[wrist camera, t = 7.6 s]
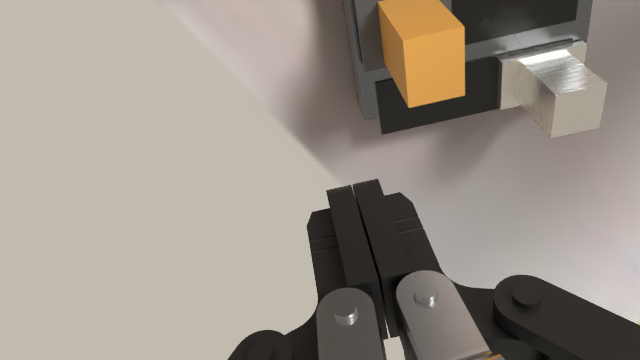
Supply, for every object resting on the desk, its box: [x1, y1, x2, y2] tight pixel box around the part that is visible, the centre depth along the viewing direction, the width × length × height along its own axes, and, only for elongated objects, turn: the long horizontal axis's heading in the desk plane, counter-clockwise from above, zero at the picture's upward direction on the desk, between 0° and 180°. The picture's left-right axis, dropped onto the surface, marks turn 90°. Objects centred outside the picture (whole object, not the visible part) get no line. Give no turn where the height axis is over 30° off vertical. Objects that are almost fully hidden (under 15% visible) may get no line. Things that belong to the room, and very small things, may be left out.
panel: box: [343, 0, 608, 138], centre depth 24 cm, size 12×12×6 cm
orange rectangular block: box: [354, 0, 465, 108], centre depth 22 cm, size 4×4×5 cm
